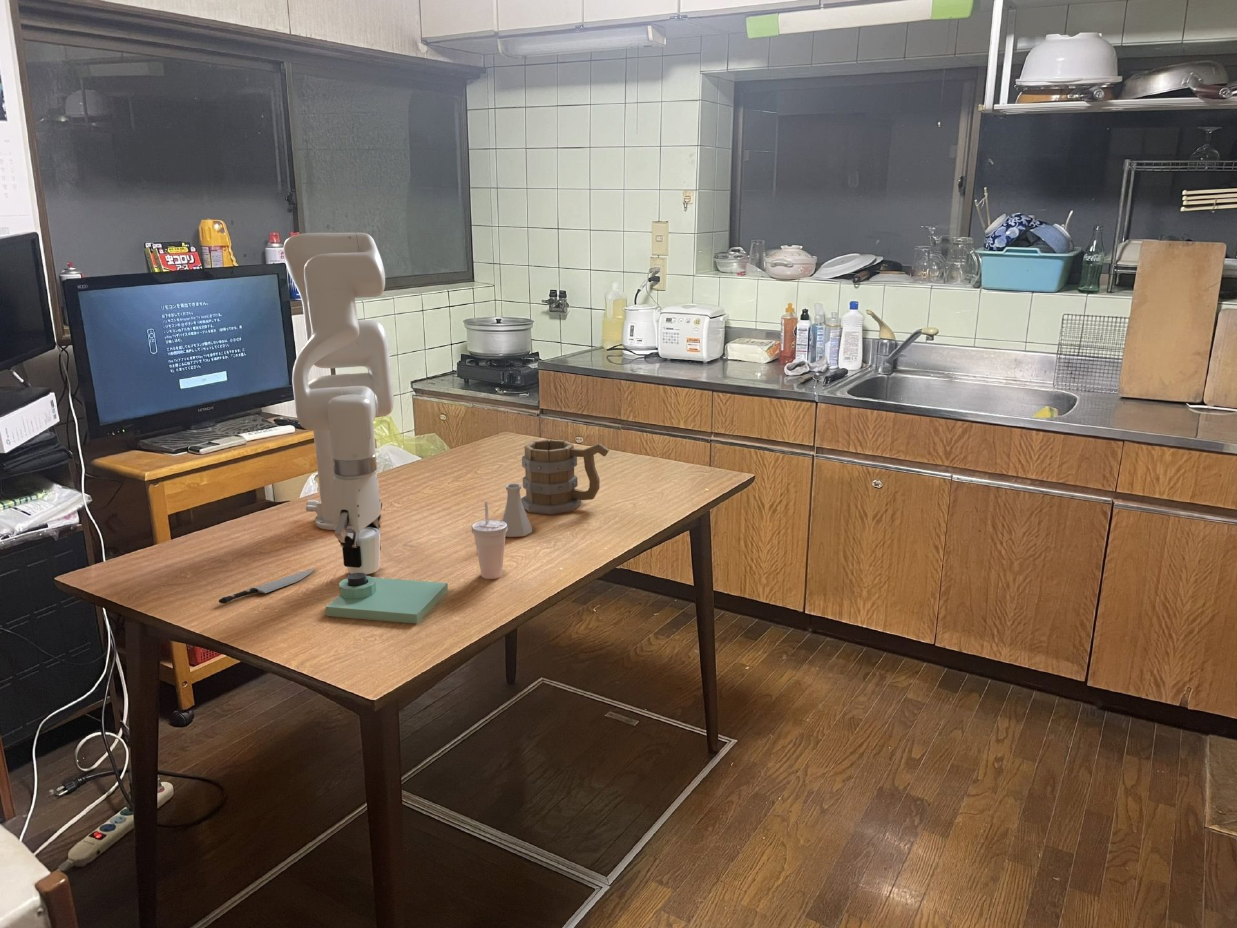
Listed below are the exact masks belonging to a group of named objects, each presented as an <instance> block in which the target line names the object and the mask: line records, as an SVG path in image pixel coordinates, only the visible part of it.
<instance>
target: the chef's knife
mask: <svg viewBox="0 0 1237 928" xmlns="http://www.w3.org/2000/svg"><path fill="white" fill-rule="evenodd" d="M313 570H314V568H311V569H307V570H304V571H303V570H302V571H300V572H297V573H294V574H291V575H288V576H285V577H281V578H279V579H276V580H273V581H270V582H267V583H264V584H260V585H258V586H255V587H251V588H248V589H245V590H241V591H239V592H236V593H234V594H231V595H227V596H223V597H221V598H220V599H218V603H220V604H227V603H229V602H231V601H233V600H236V599H239V598H242V597H245V596H249V595H253V594H256V593H260V594H267V593H270V592H272V591H276V590H278V589H281V588H284V587H286V586H289V585H292V584H295V583H297V582H299V581H301V580H303V579H304V578H306V577H307V576H309V575H310V574H311V573H312V572H313Z"/></svg>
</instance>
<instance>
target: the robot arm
mask: <svg viewBox="0 0 1237 928" xmlns="http://www.w3.org/2000/svg"><path fill="white" fill-rule="evenodd" d="M283 257H284V262H285V265H286V268H287V272H288V274H289V276H290V278H291V280H292V282H293V285H294V286H295V288H296V290H297V292H298V294H299V297H300V300H301V304H302V311H303V320H304V329H305V337H306V338H305V339H306V343H305V344H304V345H303V347H302V348H301V349H300V351H299V353H298V355H297V357H296V359H295V361H294V363H293V368H292V376H291V377H292V378H291V381H292V389H293V391H292V392H293V398H294V399H293V400H294V407H295V414H296V419H297V422H298V423H299V425H300V426H301V428H302V429H304V430H306V431H312V434H313V441H314V448H315V449H314V451H315V457H316V467H317V468H316V470H317V478H318V487H319V497H320V498H319V499H320V500H316V499H308V500H307V501H306V503H305V505H306V507H305V511H306V512H310V513H314V512H315V513H316V517H314V524H315V526H316V527H317V528H319V529H322V530H328V531H334V537H335V538H336V539H337V541H338V542H339V544H340V547H341V548H342V559H343V566H344V567H346V568H347V567H356V568H360V567H361V566H362V562H361V551H360V546H358V539H359V532H360V531H361V530H362V529H364V528H365V527H372V528H376V529H379V531H380V530H381V523H380V521H381V516H382V514H381V513H382V508H383V502H382V501H381V491H380V485H379V484H380V483H379V479H378V474H377V473H378V465H377V464H378V463H377V451H376V440H375V438H376V437H375V427H374V422H375V419H376V418H377V419H378V418H383V417H386V416H388V415H390V414H391V413H392V412H393V409H394V404H395V403H394V400H395V399H394V387H393V378H392V368H391V359H390V349H389V348H390V347H389V341H388V337H387V333H386V330H385V328H384V326H383V325H382V324H381V322H379V321H377V320H373V319H358V318H359V317H358V313H357V305H356V304H357V303H356V299H360V298H377V297H380V296H381V295H383V293H384V291H385V288H386V274H385V267H384V263H383V259H382V257H381V254H380V251H379V249H378V247H377V243H376V241H375V240H374V238H373V237H372V235H370V234H369V233H366V232H305V233H299V234H293V235H292V236H289V237H288V238H287V239H286V240H285V241H284V243H283ZM313 366H314V367H316V368H321V369H342V368H343V369H345V368H356V367H357V368H359V367H364V368H366V369H367V370H368V372H360V373H357V372H356V373H342V374H328V375H322V376H318V377H315V378H313V379H311V380H310V381H309V374H310V370H311V369H312V367H313ZM353 528H354V529H353ZM348 533H353V540H352V539H351V538H350V537H349V536H347V535H348ZM381 544H382V543H381V542H380V551H382V545H381Z"/></svg>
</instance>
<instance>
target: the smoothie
mask: <svg viewBox="0 0 1237 928" xmlns="http://www.w3.org/2000/svg"><path fill="white" fill-rule="evenodd" d="M484 518H485V519H484V520H479V521H476V522H474V523H473V524H472V525H471V533H472V534H473V538H474V542H475V546H476V547H475V548H476V554H477V560H478V564H479V570H480V576H481V578H483V579H485V580H495V579H499V578H501V577H502V576H503V568H504V567H503V566H504V556H505V555H504V554H505V545H506V544H505V542H506V536H505V532H506V531H507V530H508V529H507V524H506V523H505V522H503V521H501V519H490V518H489V501H487V500H485V501H484Z"/></svg>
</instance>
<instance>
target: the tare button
mask: <svg viewBox="0 0 1237 928" xmlns="http://www.w3.org/2000/svg"><path fill="white" fill-rule="evenodd" d="M366 576H367V574H365V573H353V574H351V573H349V574H348V575H347V578H348V586H353V587H356V586H362V585H365V584H367V581H366Z"/></svg>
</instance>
